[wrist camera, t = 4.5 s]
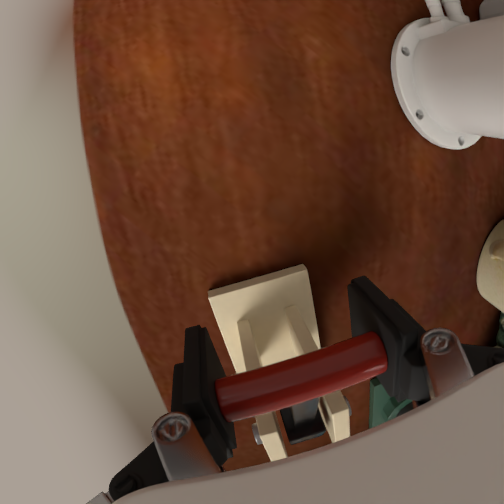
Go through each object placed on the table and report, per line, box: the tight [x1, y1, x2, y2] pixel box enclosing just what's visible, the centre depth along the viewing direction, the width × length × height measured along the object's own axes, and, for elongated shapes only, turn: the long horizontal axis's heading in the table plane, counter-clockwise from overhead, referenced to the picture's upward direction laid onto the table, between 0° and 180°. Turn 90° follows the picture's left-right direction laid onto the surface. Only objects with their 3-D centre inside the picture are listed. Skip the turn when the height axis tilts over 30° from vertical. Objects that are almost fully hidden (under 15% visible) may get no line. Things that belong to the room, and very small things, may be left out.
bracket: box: [208, 264, 351, 462], centre depth 22 cm, size 10×8×13 cm
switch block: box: [369, 378, 412, 429], centre depth 33 cm, size 12×9×3 cm
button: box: [397, 402, 413, 417], centre depth 32 cm, size 4×4×2 cm
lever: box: [215, 331, 388, 445], centre depth 14 cm, size 12×6×2 cm, turn 14°
